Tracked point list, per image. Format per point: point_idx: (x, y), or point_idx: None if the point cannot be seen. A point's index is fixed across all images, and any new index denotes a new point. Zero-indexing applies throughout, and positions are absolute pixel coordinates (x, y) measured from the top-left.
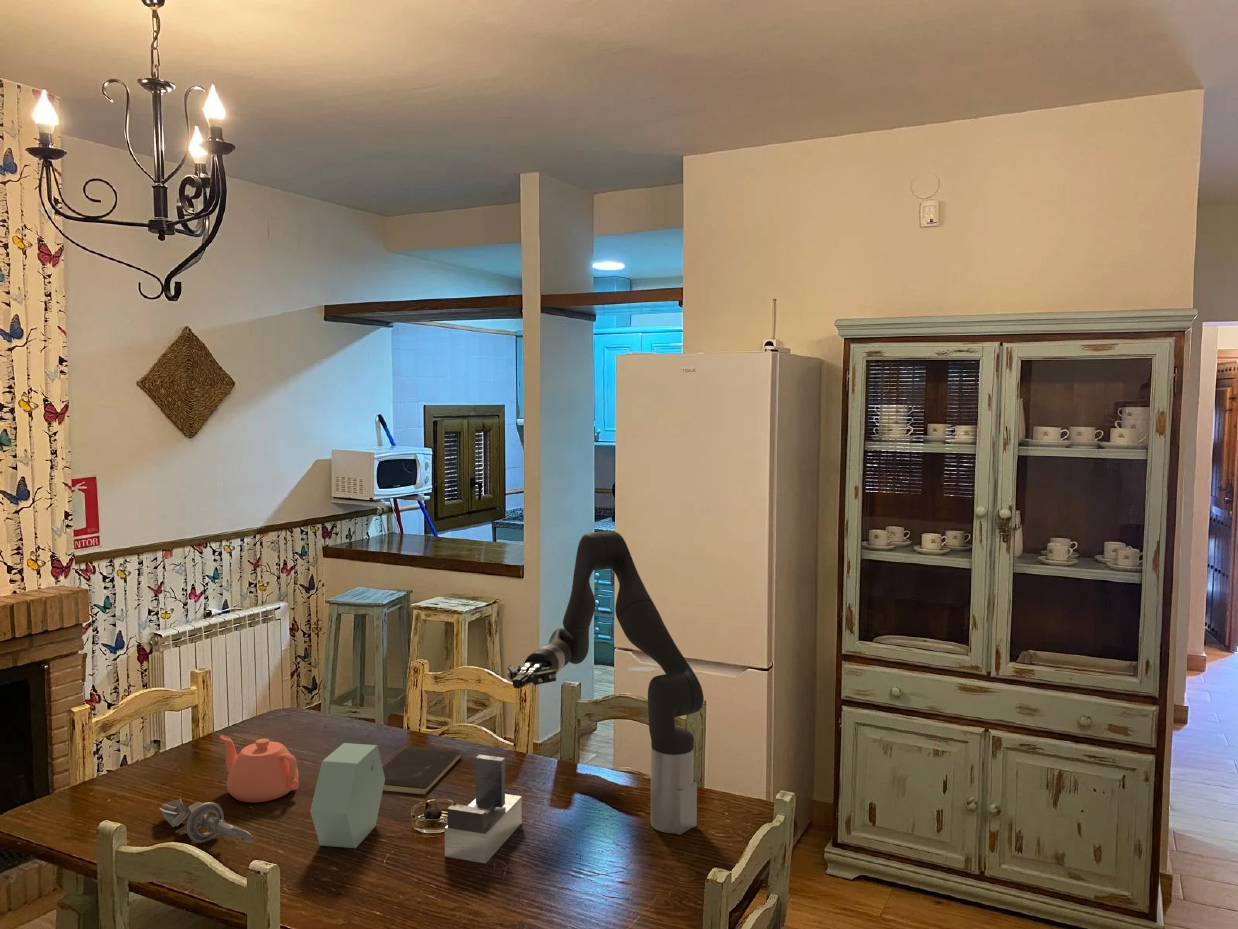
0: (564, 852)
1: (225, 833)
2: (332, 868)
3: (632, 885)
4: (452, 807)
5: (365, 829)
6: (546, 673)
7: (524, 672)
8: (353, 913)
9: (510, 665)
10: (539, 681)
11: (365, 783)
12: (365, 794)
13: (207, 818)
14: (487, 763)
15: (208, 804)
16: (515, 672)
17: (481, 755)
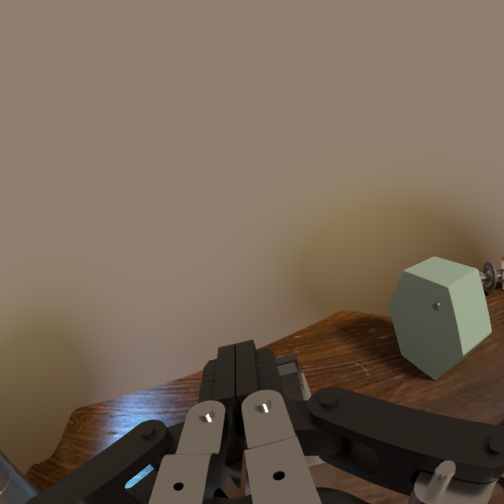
0: None
1: None
2: (383, 336)
3: (105, 431)
4: (291, 357)
5: (417, 359)
6: (84, 469)
7: (244, 426)
8: (312, 328)
9: (490, 443)
10: (154, 483)
11: (419, 310)
12: (419, 323)
13: (490, 275)
14: None
15: (491, 264)
16: (313, 395)
17: (290, 371)
